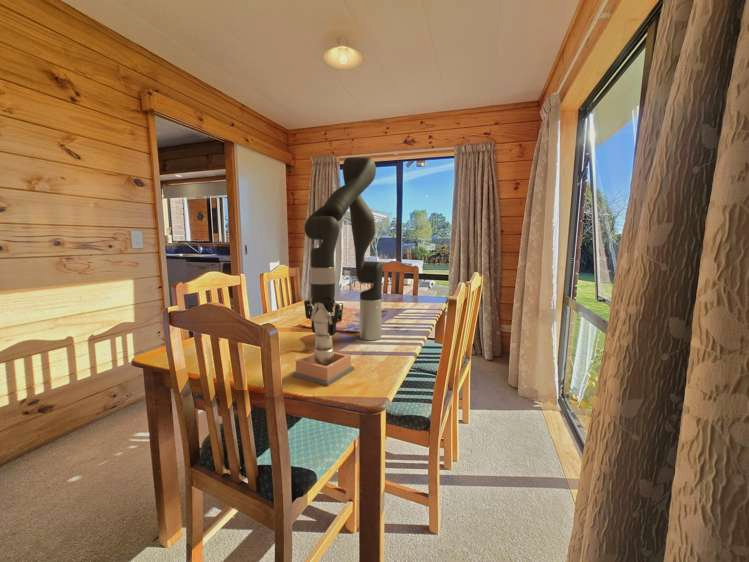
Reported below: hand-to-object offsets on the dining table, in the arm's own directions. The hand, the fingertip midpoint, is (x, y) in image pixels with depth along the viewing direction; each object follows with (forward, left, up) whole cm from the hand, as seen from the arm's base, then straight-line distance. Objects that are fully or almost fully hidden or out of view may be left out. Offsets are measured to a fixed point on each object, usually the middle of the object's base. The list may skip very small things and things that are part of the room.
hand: (323, 333), depth 105 cm
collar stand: (0, 0, -13) cm, 13 cm away
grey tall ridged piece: (0, 0, -10) cm, 10 cm away
